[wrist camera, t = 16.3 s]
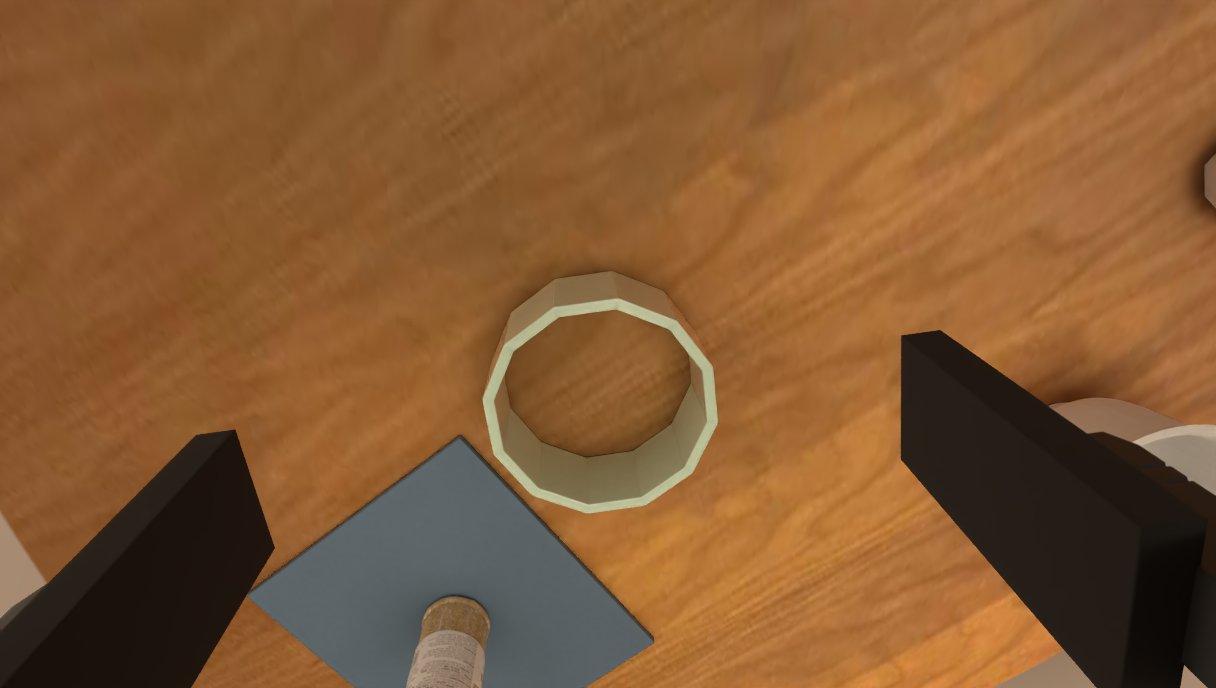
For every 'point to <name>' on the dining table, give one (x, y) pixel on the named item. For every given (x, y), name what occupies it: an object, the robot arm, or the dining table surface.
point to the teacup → (1150, 434)
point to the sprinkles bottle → (451, 645)
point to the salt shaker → (1210, 180)
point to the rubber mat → (451, 584)
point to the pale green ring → (609, 475)
